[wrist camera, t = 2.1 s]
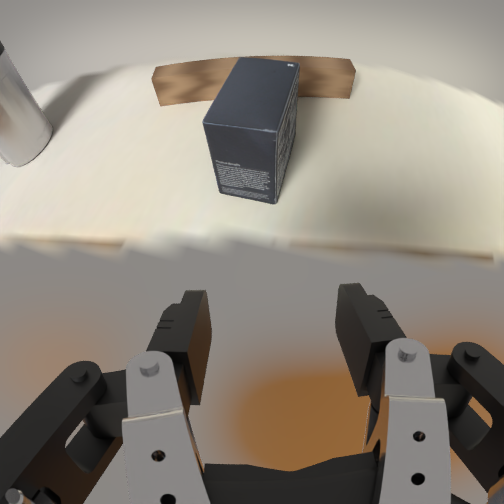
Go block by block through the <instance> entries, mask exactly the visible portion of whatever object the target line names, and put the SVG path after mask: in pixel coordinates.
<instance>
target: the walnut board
mask: <svg viewBox="0 0 504 504" xmlns="http://www.w3.org/2000/svg"><path fill="white" fill-rule="evenodd" d="M249 58H261V59H272V60H281V61H289V62H297V63H299V64H300V71H299V84H298V85H299V86H298V97H331V98H348V99H349V97H350V93H351V89H352V85H353V80H354V76H355V72H356V70H355V68H354V66H353V64H352V62H351V60H350V59H342V58H329V57H312V56H250V57H249ZM238 59H239V57H233V58H220V59H209V60H200V61H192V62H184V63H178V64H171V65H165V66H159V67H156V68H155V71H154V73H153V76H152V82H153V85H154V88H155V91H156V94H157V97H158V100H159V104H160V106H165V105H173V104H180V103H188V102H197V101H207V100H215V98H216V96H217V94H218V93H219V91H220V89H221V88H222V86H223V84H224V82H225V81H226V79H227V77H228V76H229V74H230V72H231V70H232V69H233V67H234V65H235V64H236V62H237V61H238Z"/></svg>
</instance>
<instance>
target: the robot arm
mask: <svg viewBox="0 0 504 504" xmlns="http://www.w3.org/2000/svg"><path fill="white" fill-rule="evenodd" d="M52 130H53V129H52V126H51V124H50V123H49V121H48V120H47V118H46V116H45V115H44V113H43V112H42V110H41V108H40V107H39V105H38V104H37V102H36V101H35V99H34V97H33V96H32V94H31V93H30V91H29V89H28V88H27V86H26V84H25V83H24V81H23V79H22V78H21V76H20V75H19V73H18V71H17V69H16V68H15V66H14V64H13V63H12V61H11V59H10V57H9V56H8V54H7V52H6V50H5V49H4V46H3V45H2V43H1V41H0V157H1V158H2V159H3V160H4V161H5V162H6V164H8V163H11V165H12V166H14V167H19V166H22V165H24V164H26V163H28V162H30V161H31V160H32V159H33V158H35V157H36V156H37V155H38V154H39V153H40V152H41V151H42V150H43V148H44V147H45V146H46V144H47V143H48V141H49V139H50V137H51V135H52ZM335 328H336V334H337V337H338V340H339V342H340V346H341V348H342V351H343V354H344V356H345V359H346V363H347V365H348V368H349V371H350V374H351V377H352V380H353V383H354V386H355V389H356V392H357V395H358V397H360V396H367V395H369V397H370V399H371V401H370V404H369V408H368V415H367V423H366V431H365V438H364V444H363V450H362V453H361V454H356V455H350V456H344V457H338V458H332V459H330V460H327V461H324V462H321V463H318V464H315V465H312V466H309V467H306V468H303V469H300V470H297V471H290V472H289V471H281V470H274V469H268V468H263V467H257V466H252V465H235V464H231V465H230V464H228V465H227V464H205V467H204V466H203V463H202V461H201V457H200V454H199V451H198V448H197V444H196V441H195V437H194V434H193V431H192V427H191V424H190V420H189V417H188V414H189V409H190V405H200V402H201V395H202V391H203V385H204V378H205V374H206V368H207V362H208V357H209V351H210V346H211V338H212V328H211V320H210V313H209V305H208V298H207V292H206V290H186V291H185V293H184V296H183V298H182V301H181V303H180V304H171V305H170V306H169V307H168V308H167V309H166V310H165V311H164V312H163V314H162V316H161V318H160V322H159V323H158V325H157V329H155V332H154V334H153V336H152V339H151V341H150V343H149V345H148V348H147V350H146V352H143V353H140V354H138V355H136V356H135V357H133V358H132V359H131V360H130V361H129V363H128V364H127V366H126V369H125V370H121V371H115V372H109V373H102V372H101V370H100V368H99V366H98V365H97V364H96V363H94V362H91V361H80V362H76V363H73V364H71V365H70V366H68V367H67V368H66V369H65V370H64V371H63V372H62V373H61V374H60V375H59V376H58V377H57V378H56V379H55V380H54V381H53V382H52V383H51V384H50V385H49V386H48V387H47V388H46V389H45V390H44V391H43V392H42V393H41V395H39V396H38V398H37V399H36V400H35V401H34V402H33V403H32V404H31V405H30V406H29V407H28V408H27V409H26V410H25V411H24V413H23V414H22V415H21V416H20V417H19V418H18V419H17V420H16V421H15V422H14V423H13V424H12V425H11V427H10V428H9V429H8V430H7V431H6V432H5V433H4V434H3V435H2V437H1V438H0V504H83V503H84V501H85V500H86V498H87V497H88V495H89V494H90V492H91V491H92V489H93V488H94V486H95V485H96V483H97V482H98V480H99V479H100V477H101V476H102V474H103V473H104V471H105V470H106V468H107V467H108V465H109V464H110V462H111V461H112V459H113V458H114V456H115V455H116V453H117V452H118V450H119V449H120V447H121V446H122V444H123V447H124V456H125V466H126V475H127V483H128V490H129V497H130V503H131V504H470V503H468V502H466V501H464V500H462V499H461V498H459V497H457V496H455V495H453V494H452V493H451V463H450V447H451V448H452V449H453V451H454V452H455V453H456V454H457V456H458V457H459V458H460V459H461V460H462V462H463V463H464V464H465V465H466V467H467V468H468V469H469V470H470V472H471V473H472V474H473V475H474V477H475V478H476V479H477V480H478V482H479V483H480V484H481V486H482V487H483V488H484V489H485V491H486V492H487V493H488V497H487V498H488V499H487V500H488V502H487V503H486V504H504V365H503V364H502V363H501V362H500V361H499V360H497V359H496V358H495V357H494V356H493V355H491V354H490V353H489V352H488V351H487V350H486V349H484V348H483V347H482V346H480V345H478V344H476V343H472V342H462V343H458V344H457V345H456V346H455V347H454V348H453V351H452V353H451V355H437V354H429V352H428V349H427V348H426V347H425V346H424V345H423V344H422V343H420V342H419V341H416V340H413V339H409V338H406V336H405V334H404V333H403V331H402V330H401V328H400V327H399V325H398V324H397V322H396V320H395V319H394V318H393V316H392V314H391V313H390V311H388V308H387V307H386V305H385V304H384V302H383V301H382V300H380V299H379V298H377V297H375V296H374V295H367V294H366V292H365V291H364V289H363V287H362V286H361V284H360V283H353V284H340V286H339V289H338V300H337V309H336V319H335ZM472 396H473V397H474V398H475V399H476V400H477V401H478V402H479V403H480V404H481V405H482V406H483V407H484V408H485V409H486V410H487V411H488V412H489V413H490V415H491V417H492V421H493V422H492V423H493V424H492V427H491V428H490V427H489V426H488V425H487V424H486V423H485V422H484V420H483V419H481V417H480V416H479V415H478V414H477V413H476V412H475V411H474V410H473V409H472V408H471V407H470V406H469V405H468V403H469V401H470V400H471V398H472ZM82 420H83V422H84V423H85V424H84V425H83V427H82V428H81V429H80V430H79V432H78V433H77V434H76V435H75V436H74V438H73V439H72V440H71V442H70V443H69V444H68V446H67V447H66V448H65V444H66V441H67V439H68V437H69V436H70V435H71V433H72V432H73V431H74V430H75V429H76V427H77V426H78V425H79V424H80V422H81V421H82Z"/></svg>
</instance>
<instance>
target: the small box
mask: <svg viewBox="0 0 504 504" xmlns="http://www.w3.org/2000/svg"><path fill="white" fill-rule="evenodd" d="M299 71H300V64H299V63H297V62H289V61H281V60H272V59H261V58H249V57H239V59H238V61H237V62H236V64H235V65H234V67H233V69H232V70H231V72H230V74H229V76H228V77H227V79H226V81H225V82H224V84H223V86H222V88H221V89H220V91H219V93H218V94H217V96H216V98H215V100H214V101H213V103H212V105H211V107H210V108H209V110H208V112H207V114H206V116H205V117H204V119H203V121H202V123H203V126H204V130H205V135H206V139H207V143H208V147H209V151H210V155H211V159H212V163H213V168H214V172H215V176H216V180H217V185H218V188H219V192H220V193H222V194H226V195H231V196H236V197H241V198H245V199H251V200H255V201H260V202H265V203H270V204H276V203H277V200H278V196H279V193H280V190H281V186H282V182H283V179H284V175H285V171H286V168H287V164H288V160H289V158H290V154H291V149H292V146H293V142H294V137H295V132H296V111H297V100H298V86H299V85H298V84H299Z"/></svg>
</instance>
